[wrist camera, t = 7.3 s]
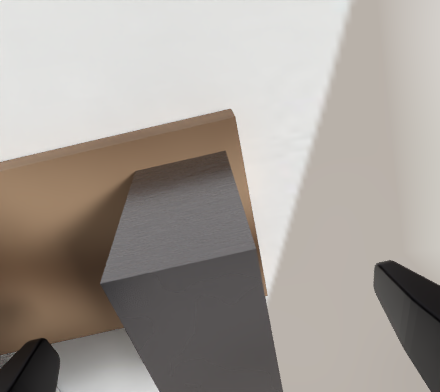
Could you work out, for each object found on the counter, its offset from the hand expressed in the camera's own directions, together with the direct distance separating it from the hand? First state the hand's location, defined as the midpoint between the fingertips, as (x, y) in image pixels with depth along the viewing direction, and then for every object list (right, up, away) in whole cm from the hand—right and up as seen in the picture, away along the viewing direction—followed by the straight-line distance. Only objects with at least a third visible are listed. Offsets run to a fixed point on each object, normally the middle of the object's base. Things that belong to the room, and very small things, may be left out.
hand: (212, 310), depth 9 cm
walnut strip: (-9, 0, +4) cm, 10 cm away
